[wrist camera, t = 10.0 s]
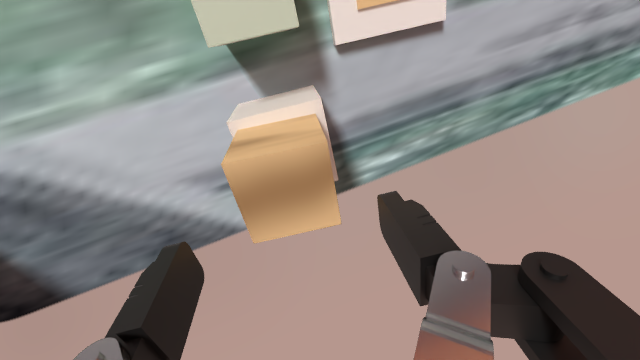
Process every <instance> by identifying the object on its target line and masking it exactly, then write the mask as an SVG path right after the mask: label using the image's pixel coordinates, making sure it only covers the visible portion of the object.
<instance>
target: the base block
mask: <svg viewBox="0 0 640 360" xmlns="http://www.w3.org/2000/svg"><path fill="white" fill-rule="evenodd" d="M311 114H316V116H317V118H318V121H319V123H320V126H321V128H322V130H323V133H324V135H325V137H326V140H327V143H328V148H329V154H330V160H331V166H332V172H333V178H334V181H337V180H338V175H337V170H336V166H335V161H334V156H333V152H332V147H331V142H330V138H329V133H328V128H327V124H326V119H325V114H324V109H323V105H322V100H321V97H320V96H319V94H318V92H317V91H316V89H315V88H314V86H313V85H311V86H307V87H303V88H299V89H295V90H291V91H287V92H284V93H280V94H276V95H272V96H268V97H264V98H260V99H256V100H252V101H248V102H244V103H241V104H238V105H237V107H236V108H235V110H234V111H233V113H232V115H231V116H230V118H229V119H228V121H227V122H226V123H227V125H228V127H229V130H230V132H231V135H232V137H233V138H234V136H235V134H236V132H237V130H240V129H244V128H249V127H254V126H259V125H263V124H268V123H273V122H277V121H282V120H287V119H292V118H296V117H301V116H306V115H311Z"/></svg>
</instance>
